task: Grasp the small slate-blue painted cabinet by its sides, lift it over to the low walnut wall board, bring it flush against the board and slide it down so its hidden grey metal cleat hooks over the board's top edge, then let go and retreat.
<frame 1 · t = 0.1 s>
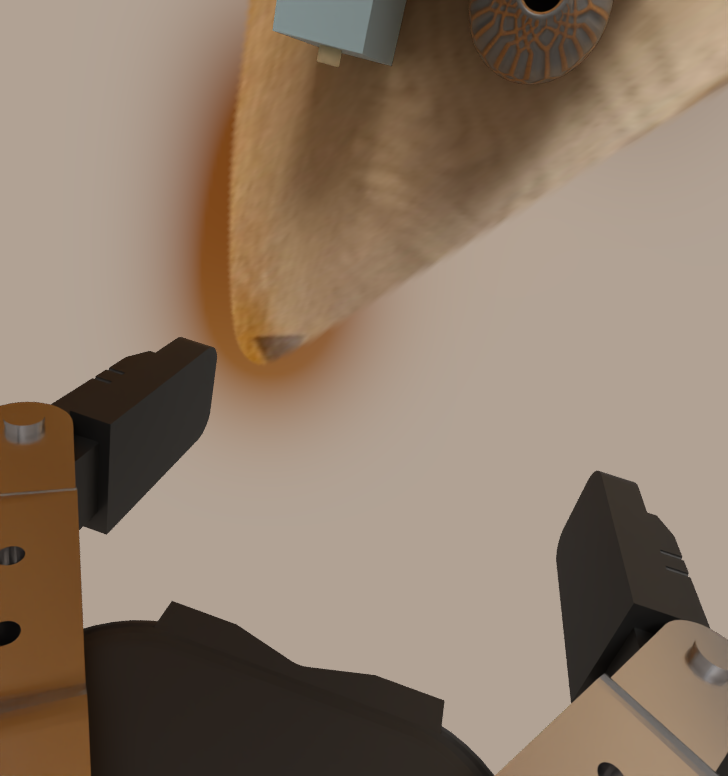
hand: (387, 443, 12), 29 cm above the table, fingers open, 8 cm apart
cabinet: (364, 8, 34), on the table
vase: (535, 18, 33), on the table
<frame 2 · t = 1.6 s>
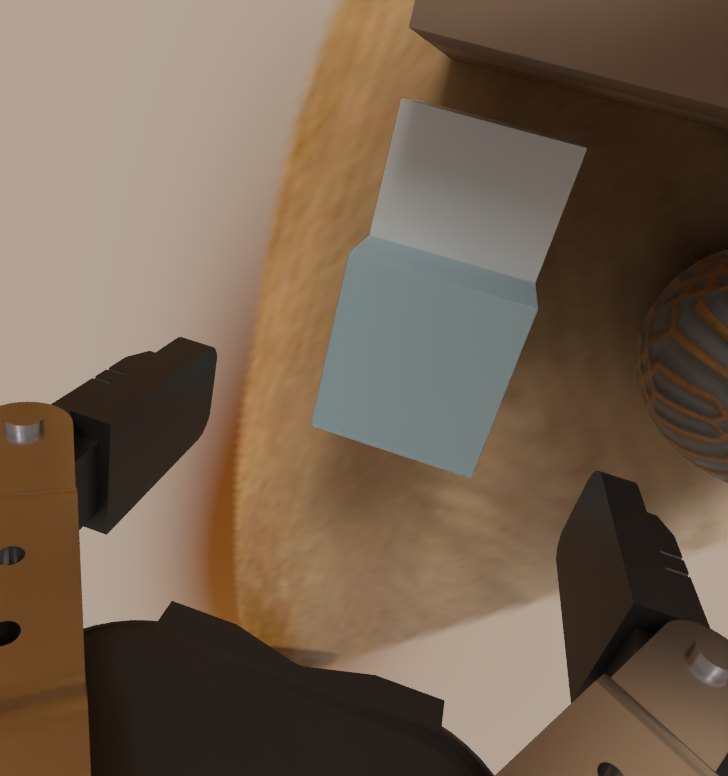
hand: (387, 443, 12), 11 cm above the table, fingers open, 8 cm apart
cabinet: (446, 287, 22), on the table
vase: (726, 322, 20), on the table
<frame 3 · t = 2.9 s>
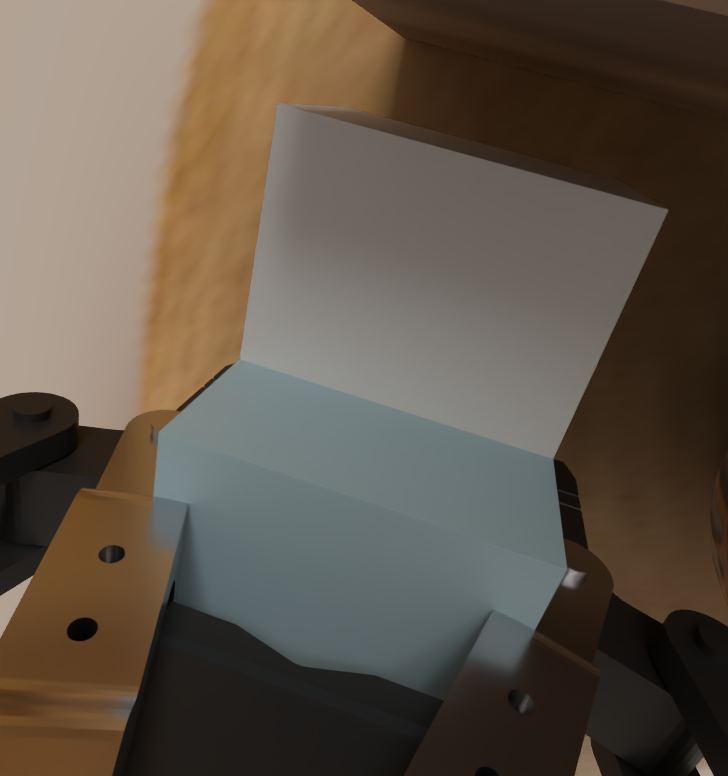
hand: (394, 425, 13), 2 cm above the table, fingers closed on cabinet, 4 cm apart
cabinet: (408, 390, 15), on the table, touching gripper
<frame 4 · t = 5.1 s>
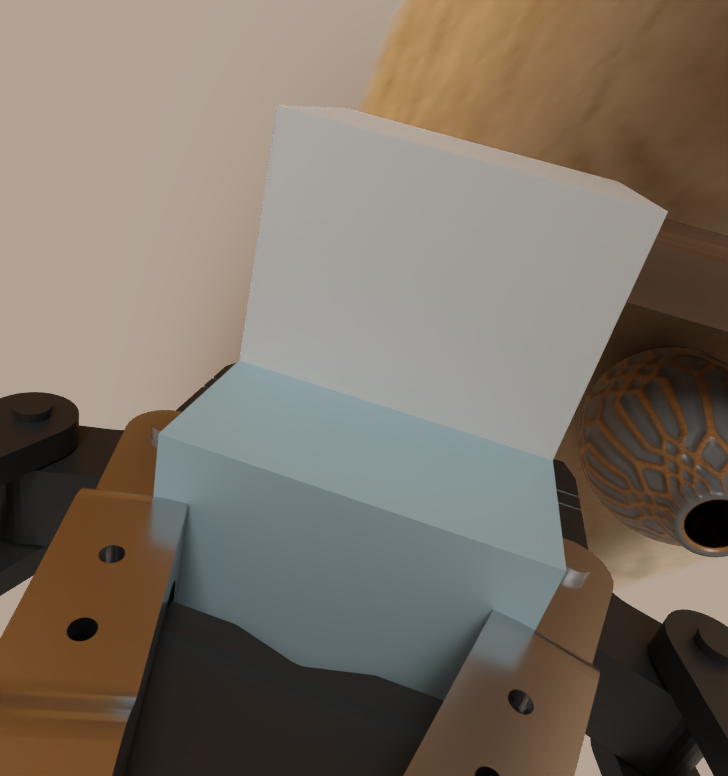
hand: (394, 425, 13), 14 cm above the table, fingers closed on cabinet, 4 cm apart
cabinet: (408, 390, 15), point 12 cm above the table, touching gripper
wall board: (648, 237, 23), on the table
vase: (653, 400, 26), on the table
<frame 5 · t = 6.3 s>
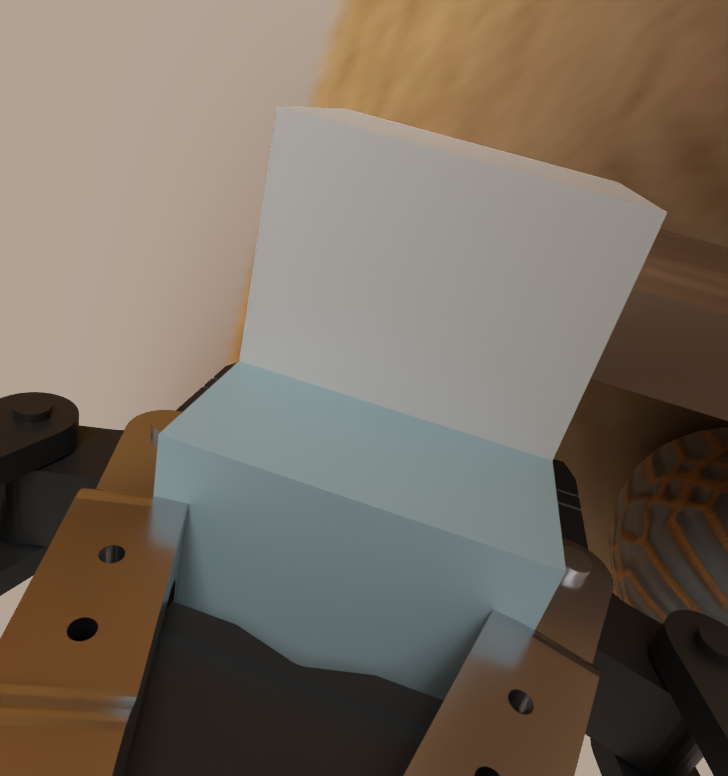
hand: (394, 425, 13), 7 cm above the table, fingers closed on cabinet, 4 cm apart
cabinet: (408, 391, 15), point 5 cm above the table, touching gripper
wall board: (710, 275, 16), on the table
vase: (707, 486, 19), on the table
when the fingers open (6 cm above the table, at t = 7.3 s): cabinet stays where it is, resting on wall board.
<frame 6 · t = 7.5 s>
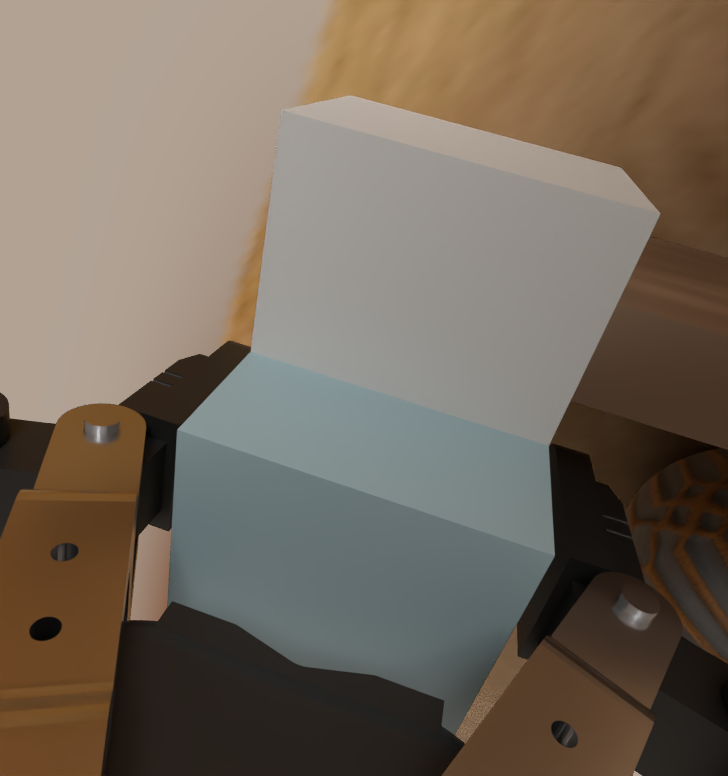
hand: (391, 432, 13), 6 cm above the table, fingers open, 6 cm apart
cabinet: (415, 366, 15), point 3 cm above the table, touching wall board
wall board: (718, 288, 16), on the table
vase: (714, 506, 18), on the table
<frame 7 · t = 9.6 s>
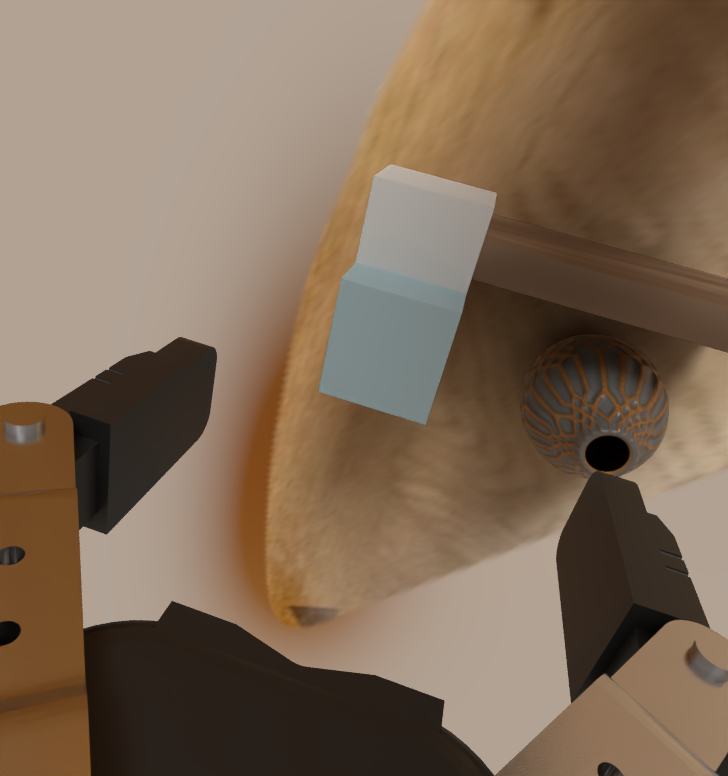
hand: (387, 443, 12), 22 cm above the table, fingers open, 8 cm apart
cabinet: (416, 290, 30), point 3 cm above the table, touching wall board
wall board: (570, 252, 31), on the table
vase: (581, 377, 33), on the table
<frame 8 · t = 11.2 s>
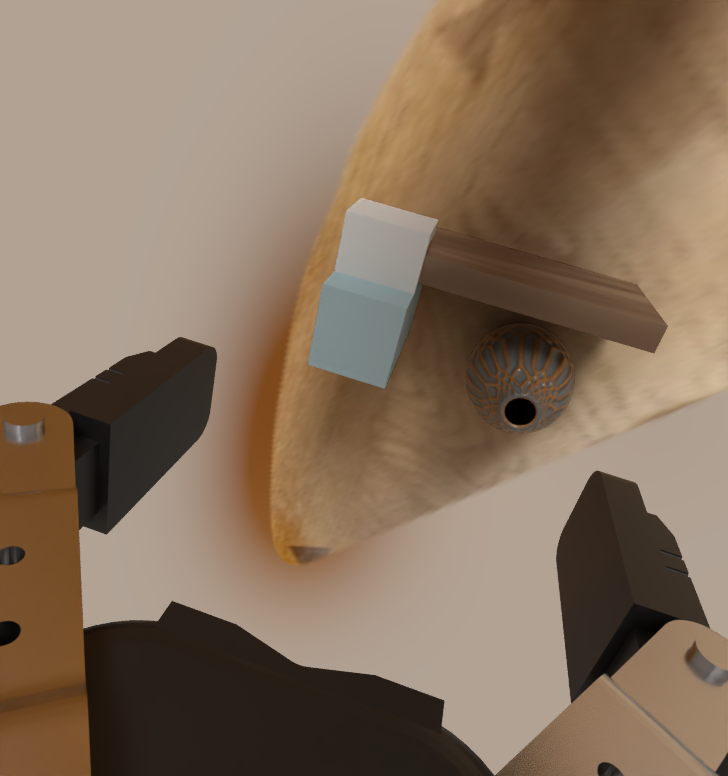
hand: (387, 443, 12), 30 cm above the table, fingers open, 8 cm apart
cabinet: (385, 288, 39), point 3 cm above the table, touching wall board
wall board: (505, 259, 39), on the table
vase: (518, 356, 42), on the table
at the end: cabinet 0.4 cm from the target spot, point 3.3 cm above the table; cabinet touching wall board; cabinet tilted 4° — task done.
